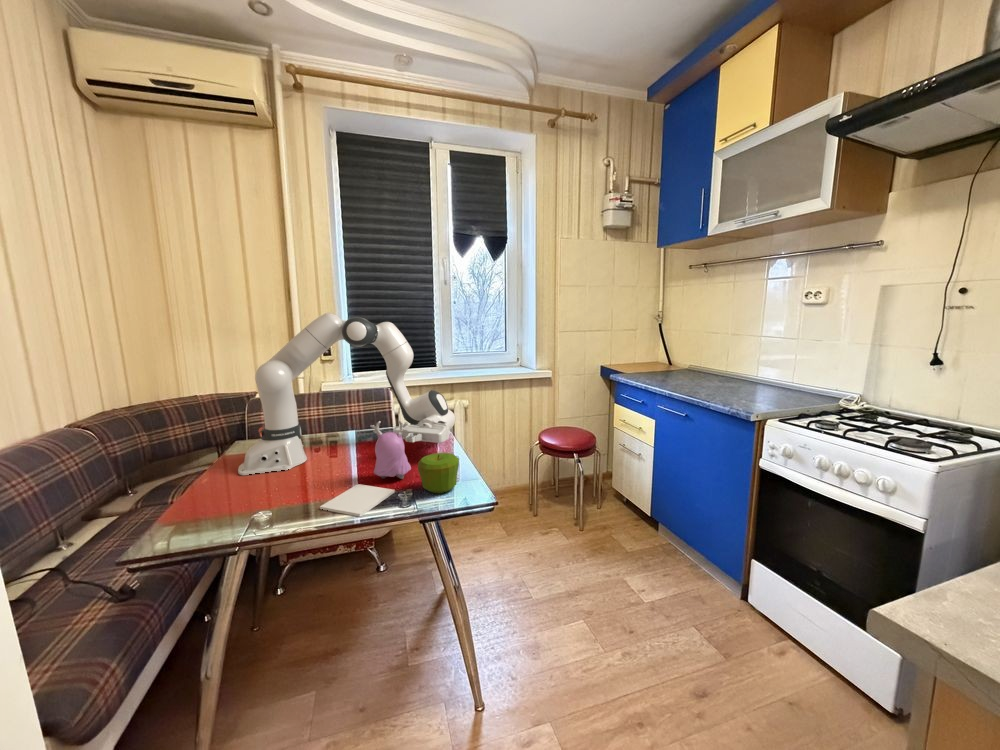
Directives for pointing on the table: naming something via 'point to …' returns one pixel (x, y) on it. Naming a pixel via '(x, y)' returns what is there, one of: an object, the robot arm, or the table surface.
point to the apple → (438, 472)
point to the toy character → (390, 453)
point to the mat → (357, 500)
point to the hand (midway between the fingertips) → (409, 440)
